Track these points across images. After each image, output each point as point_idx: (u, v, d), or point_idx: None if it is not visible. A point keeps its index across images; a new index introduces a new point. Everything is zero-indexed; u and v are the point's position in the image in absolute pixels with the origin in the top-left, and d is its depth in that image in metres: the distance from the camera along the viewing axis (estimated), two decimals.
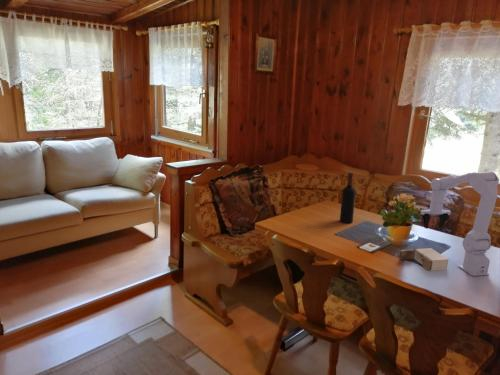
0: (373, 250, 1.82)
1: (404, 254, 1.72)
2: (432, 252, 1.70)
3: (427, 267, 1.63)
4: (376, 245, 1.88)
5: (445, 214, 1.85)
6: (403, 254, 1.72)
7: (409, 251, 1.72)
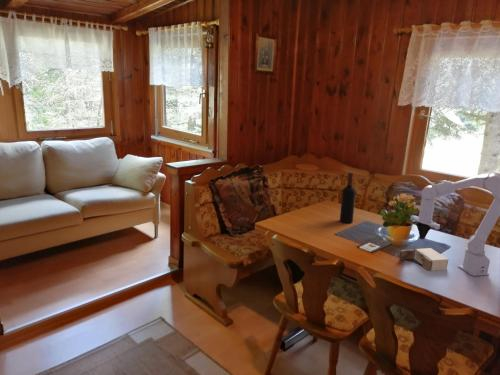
0: (373, 250, 1.82)
1: (404, 254, 1.72)
2: (432, 252, 1.70)
3: (427, 267, 1.63)
4: (376, 245, 1.88)
5: None
6: (403, 254, 1.72)
7: (409, 251, 1.72)
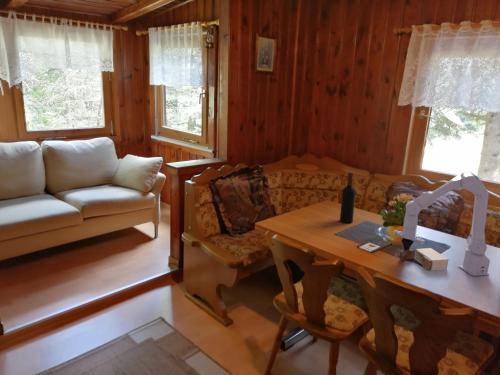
0: (373, 250, 1.82)
1: (404, 254, 1.72)
2: (432, 252, 1.70)
3: (427, 267, 1.63)
4: (376, 245, 1.88)
5: None
6: (403, 254, 1.72)
7: (409, 251, 1.72)
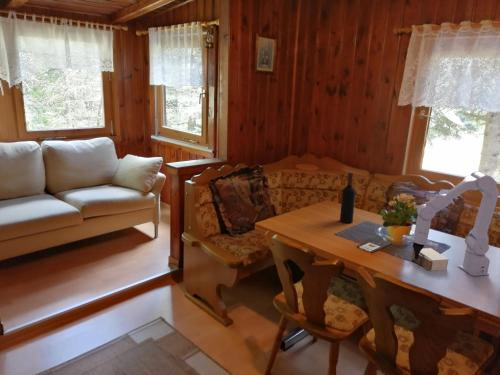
0: (373, 250, 1.82)
1: None
2: (432, 252, 1.70)
3: (427, 267, 1.63)
4: (376, 245, 1.88)
5: None
6: None
7: None
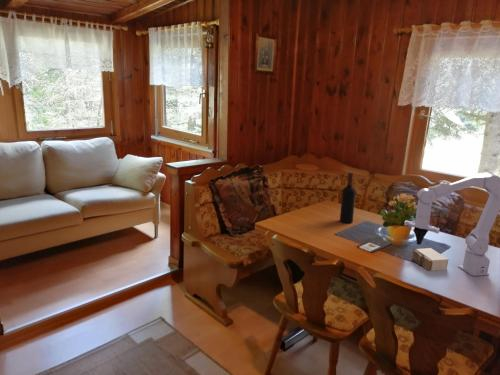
0: (373, 250, 1.82)
1: None
2: (432, 252, 1.70)
3: (427, 267, 1.63)
4: (376, 245, 1.88)
5: (431, 231, 1.61)
6: None
7: None
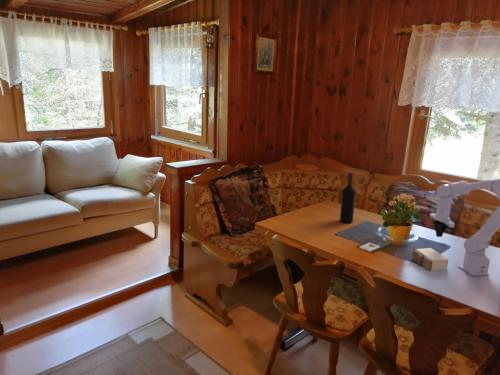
0: (373, 250, 1.82)
1: None
2: (432, 252, 1.70)
3: (427, 267, 1.63)
4: (376, 245, 1.88)
5: (446, 225, 1.70)
6: None
7: None
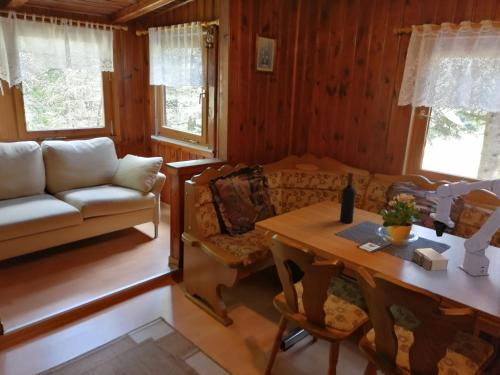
0: (373, 250, 1.82)
1: None
2: (432, 252, 1.70)
3: (427, 267, 1.63)
4: (376, 245, 1.88)
5: (446, 225, 1.70)
6: None
7: None
